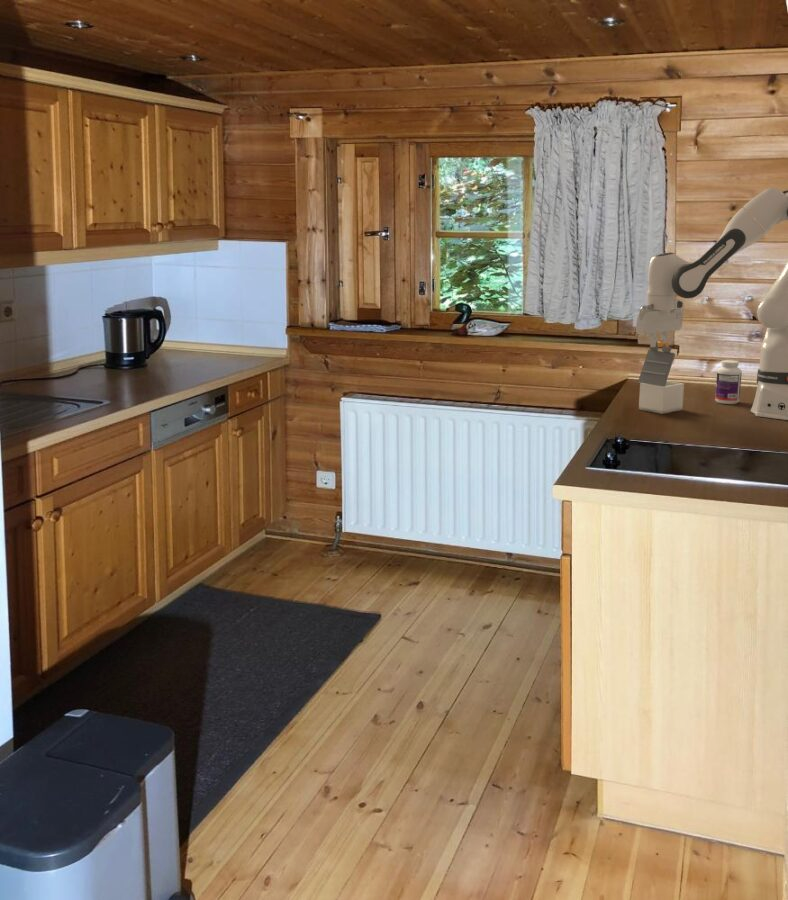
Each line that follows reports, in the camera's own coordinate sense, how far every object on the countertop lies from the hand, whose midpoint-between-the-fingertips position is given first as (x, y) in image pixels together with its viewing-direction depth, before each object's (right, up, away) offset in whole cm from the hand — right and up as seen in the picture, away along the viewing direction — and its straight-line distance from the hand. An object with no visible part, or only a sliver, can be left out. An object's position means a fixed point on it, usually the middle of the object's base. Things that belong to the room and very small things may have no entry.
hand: (657, 346), depth 345 cm
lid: (+1, -6, +2) cm, 6 cm away
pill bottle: (+29, -18, +19) cm, 39 cm away
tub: (+3, -20, +7) cm, 22 cm away
